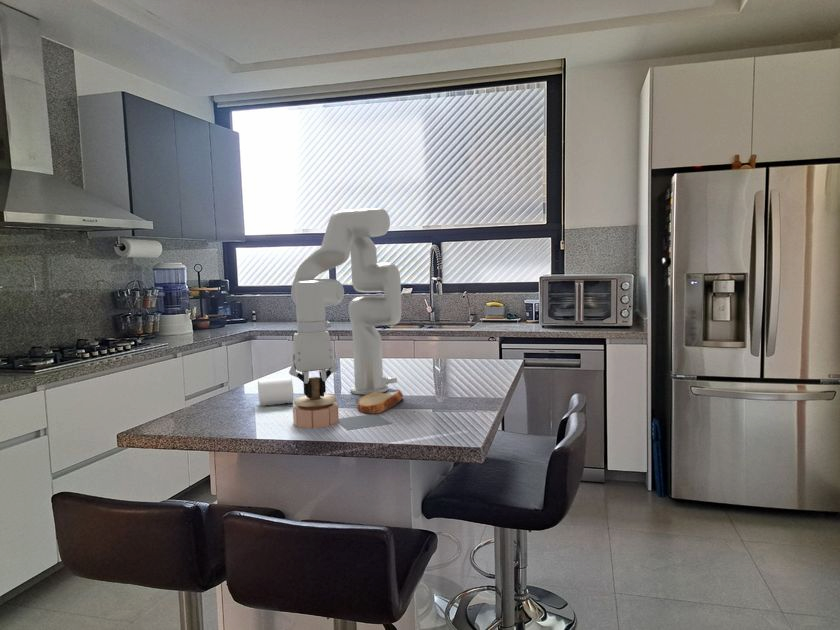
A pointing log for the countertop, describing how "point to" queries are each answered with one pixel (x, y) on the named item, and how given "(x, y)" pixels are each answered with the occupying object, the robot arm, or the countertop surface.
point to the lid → (315, 396)
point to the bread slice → (378, 402)
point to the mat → (363, 421)
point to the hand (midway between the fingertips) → (315, 395)
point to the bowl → (315, 416)
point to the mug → (275, 391)
